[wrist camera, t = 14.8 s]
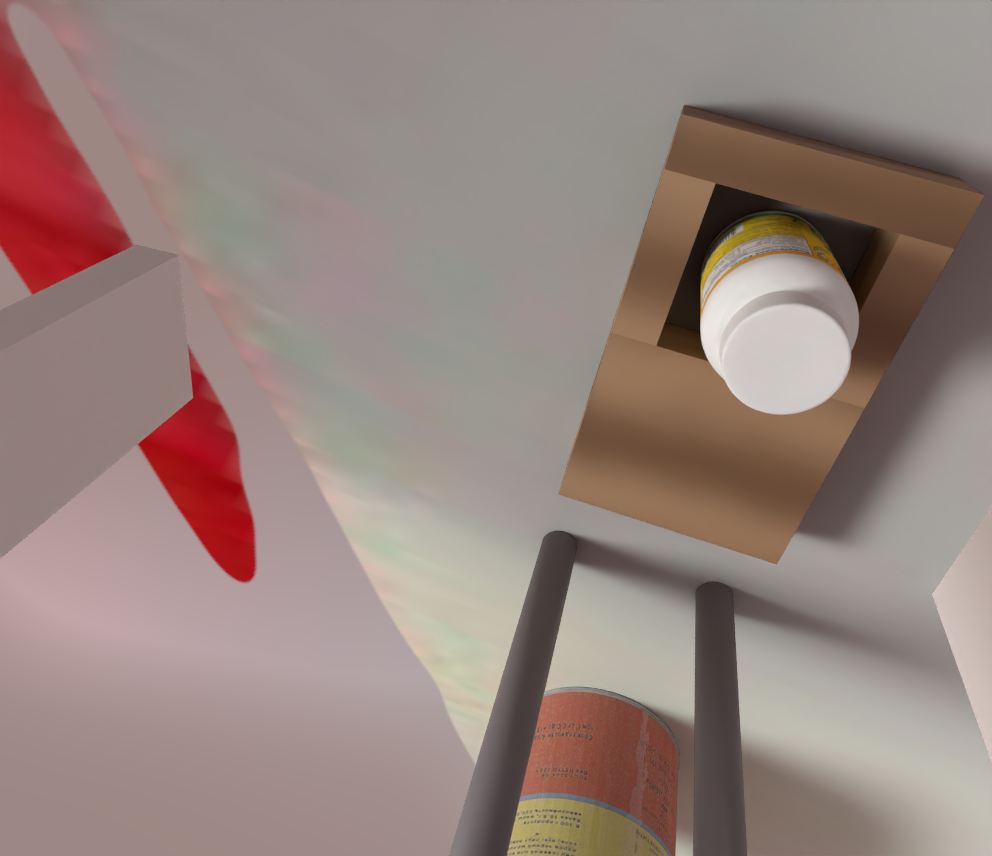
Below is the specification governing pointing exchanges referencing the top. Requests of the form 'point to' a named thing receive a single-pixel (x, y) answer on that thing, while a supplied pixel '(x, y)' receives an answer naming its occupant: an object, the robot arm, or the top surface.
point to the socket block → (691, 378)
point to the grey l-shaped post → (521, 697)
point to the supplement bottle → (776, 313)
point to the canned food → (597, 779)
